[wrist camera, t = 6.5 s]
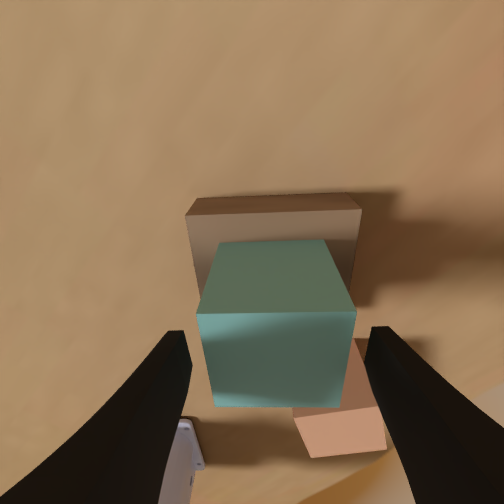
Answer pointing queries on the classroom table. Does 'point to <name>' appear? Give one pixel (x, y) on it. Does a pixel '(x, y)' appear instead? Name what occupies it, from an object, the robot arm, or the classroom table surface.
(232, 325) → the teal cube
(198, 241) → the walnut slab
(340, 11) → the classroom table surface
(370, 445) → the terracotta cube
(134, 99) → the classroom table surface
